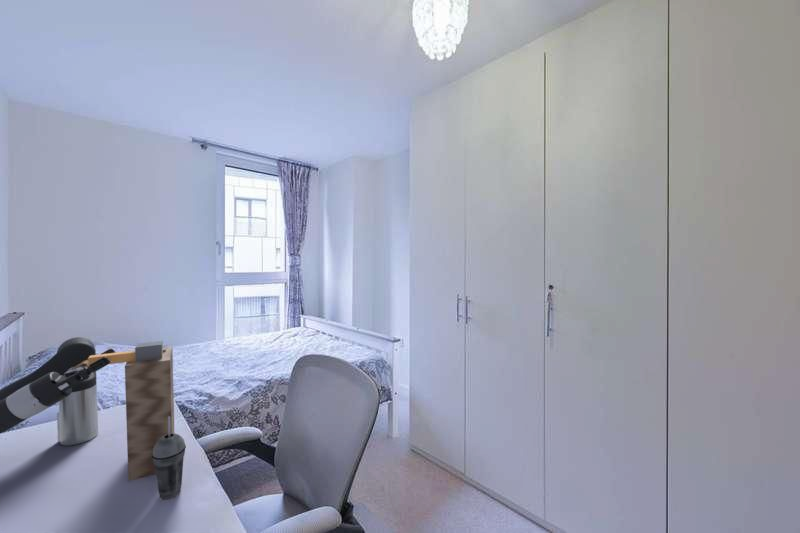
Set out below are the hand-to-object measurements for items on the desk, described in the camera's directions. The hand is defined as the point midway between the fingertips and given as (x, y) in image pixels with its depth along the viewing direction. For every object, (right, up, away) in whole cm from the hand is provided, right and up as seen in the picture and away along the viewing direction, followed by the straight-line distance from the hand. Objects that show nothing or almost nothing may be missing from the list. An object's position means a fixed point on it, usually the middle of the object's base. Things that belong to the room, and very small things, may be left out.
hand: (111, 355), depth 93 cm
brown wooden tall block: (+5, -34, +9) cm, 35 cm away
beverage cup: (+19, -35, -5) cm, 40 cm away
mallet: (+3, -2, +2) cm, 4 cm away
